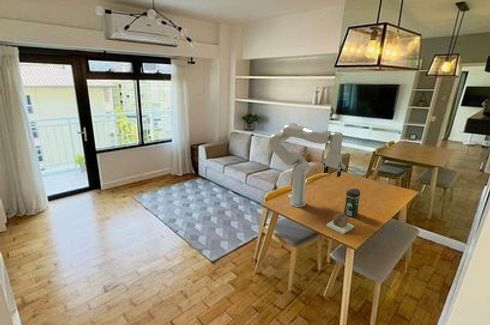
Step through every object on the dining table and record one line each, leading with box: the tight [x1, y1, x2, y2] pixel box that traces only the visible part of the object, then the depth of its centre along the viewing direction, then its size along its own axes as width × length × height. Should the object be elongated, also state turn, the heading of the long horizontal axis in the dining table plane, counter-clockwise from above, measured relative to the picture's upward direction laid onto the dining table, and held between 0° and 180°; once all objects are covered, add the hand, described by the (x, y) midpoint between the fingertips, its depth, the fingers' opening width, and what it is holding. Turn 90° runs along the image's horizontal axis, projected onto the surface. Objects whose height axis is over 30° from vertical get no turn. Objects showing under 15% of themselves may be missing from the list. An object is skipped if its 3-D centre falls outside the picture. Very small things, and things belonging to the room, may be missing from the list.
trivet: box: [326, 219, 355, 235], centre depth 165 cm, size 12×12×2 cm
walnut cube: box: [333, 213, 349, 228], centre depth 164 cm, size 6×6×6 cm
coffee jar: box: [343, 187, 361, 217], centre depth 178 cm, size 10×8×19 cm
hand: (332, 174), depth 176 cm, fingers open, 9 cm apart
